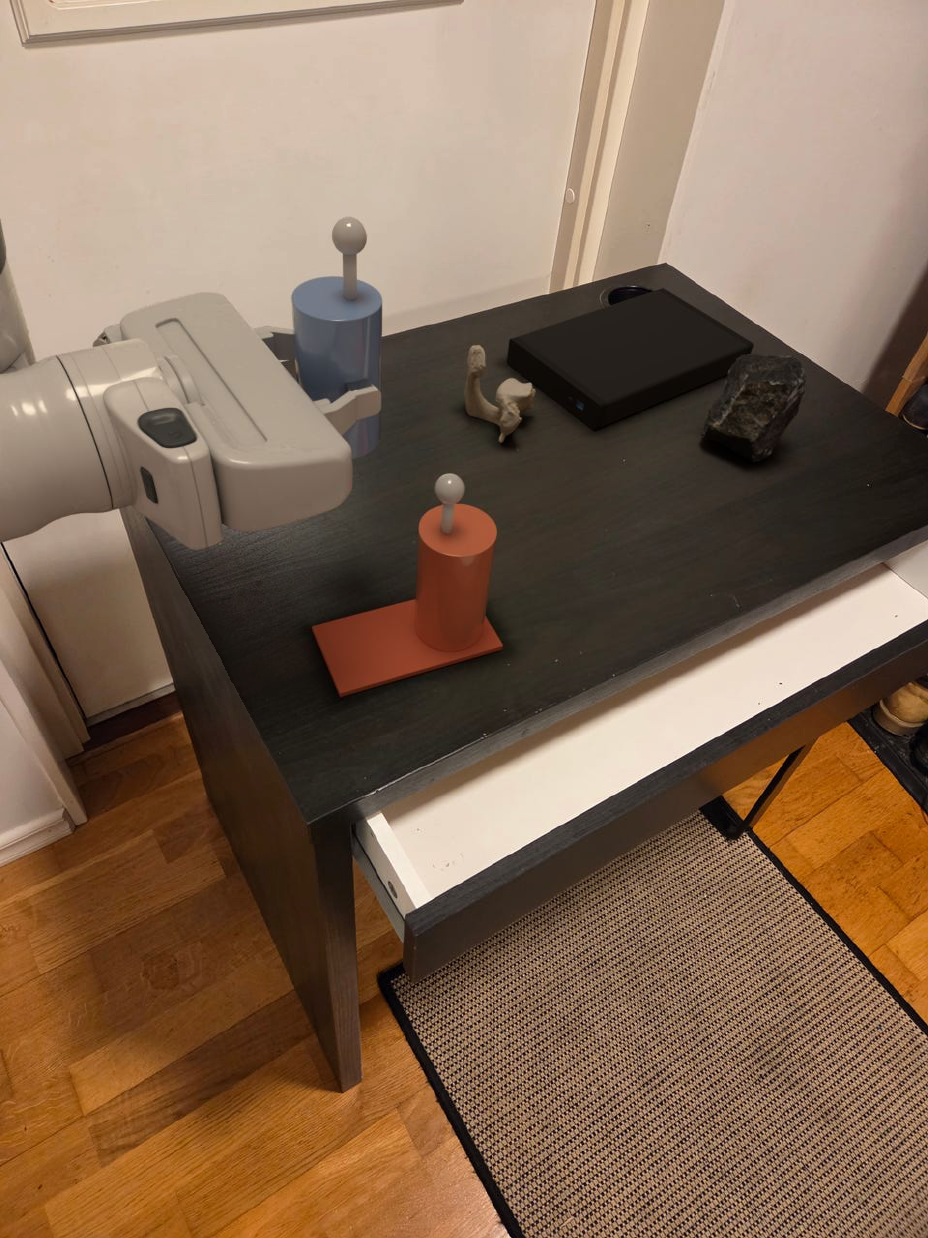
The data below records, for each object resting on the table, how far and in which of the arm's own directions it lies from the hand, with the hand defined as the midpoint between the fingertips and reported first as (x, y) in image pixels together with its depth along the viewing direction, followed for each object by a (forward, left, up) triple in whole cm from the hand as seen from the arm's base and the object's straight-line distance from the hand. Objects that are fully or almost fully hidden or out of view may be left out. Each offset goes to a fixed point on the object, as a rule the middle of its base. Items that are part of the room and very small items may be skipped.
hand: (351, 368), depth 55 cm
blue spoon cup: (-1, 0, -5) cm, 5 cm away
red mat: (+3, -7, -19) cm, 21 cm away
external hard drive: (+32, +30, -20) cm, 48 cm away
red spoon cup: (+7, -6, -19) cm, 21 cm away
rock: (+39, +15, -20) cm, 46 cm away
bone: (+16, +20, -20) cm, 32 cm away
